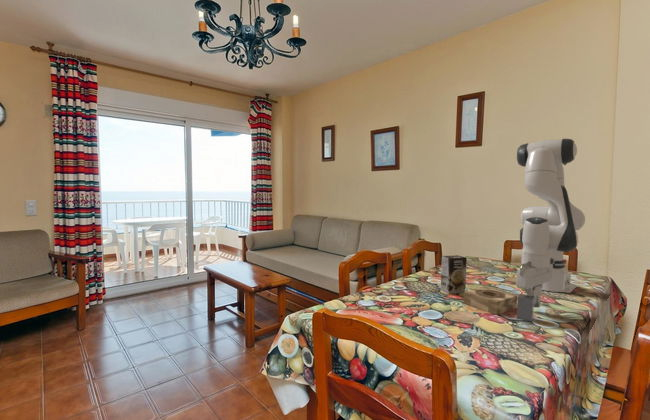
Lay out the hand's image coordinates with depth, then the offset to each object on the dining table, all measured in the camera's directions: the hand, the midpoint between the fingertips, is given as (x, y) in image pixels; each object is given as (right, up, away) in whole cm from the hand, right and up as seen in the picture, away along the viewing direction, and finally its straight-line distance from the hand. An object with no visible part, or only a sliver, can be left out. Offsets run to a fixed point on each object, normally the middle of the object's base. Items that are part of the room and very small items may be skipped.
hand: (533, 296), depth 124 cm
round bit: (0, -4, 0) cm, 4 cm away
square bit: (-7, -6, -6) cm, 12 cm away
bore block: (-14, -6, +6) cm, 16 cm away
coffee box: (-21, -5, +25) cm, 33 cm away
